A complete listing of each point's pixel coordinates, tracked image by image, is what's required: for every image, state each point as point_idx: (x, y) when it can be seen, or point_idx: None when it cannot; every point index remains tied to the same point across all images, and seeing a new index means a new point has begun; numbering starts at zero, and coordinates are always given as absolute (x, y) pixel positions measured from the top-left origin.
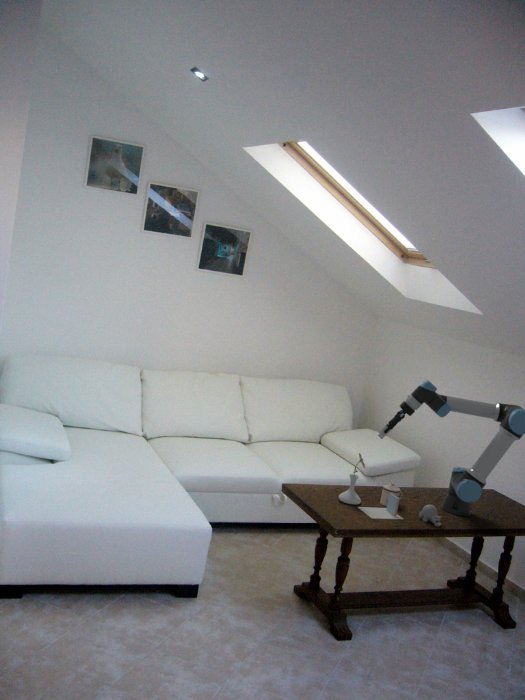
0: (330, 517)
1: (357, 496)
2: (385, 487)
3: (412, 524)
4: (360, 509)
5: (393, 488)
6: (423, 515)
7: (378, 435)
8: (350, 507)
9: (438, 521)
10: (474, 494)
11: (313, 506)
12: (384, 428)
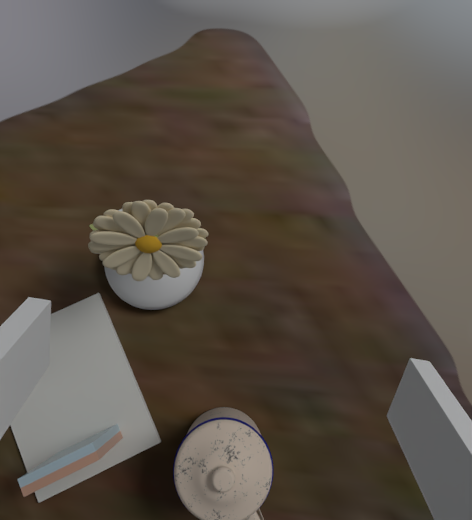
0: None
1: (136, 286)
2: (199, 430)
3: None
4: (73, 304)
5: (190, 478)
6: None
7: (25, 306)
8: (92, 264)
9: None
10: None
11: (28, 120)
12: (444, 443)
